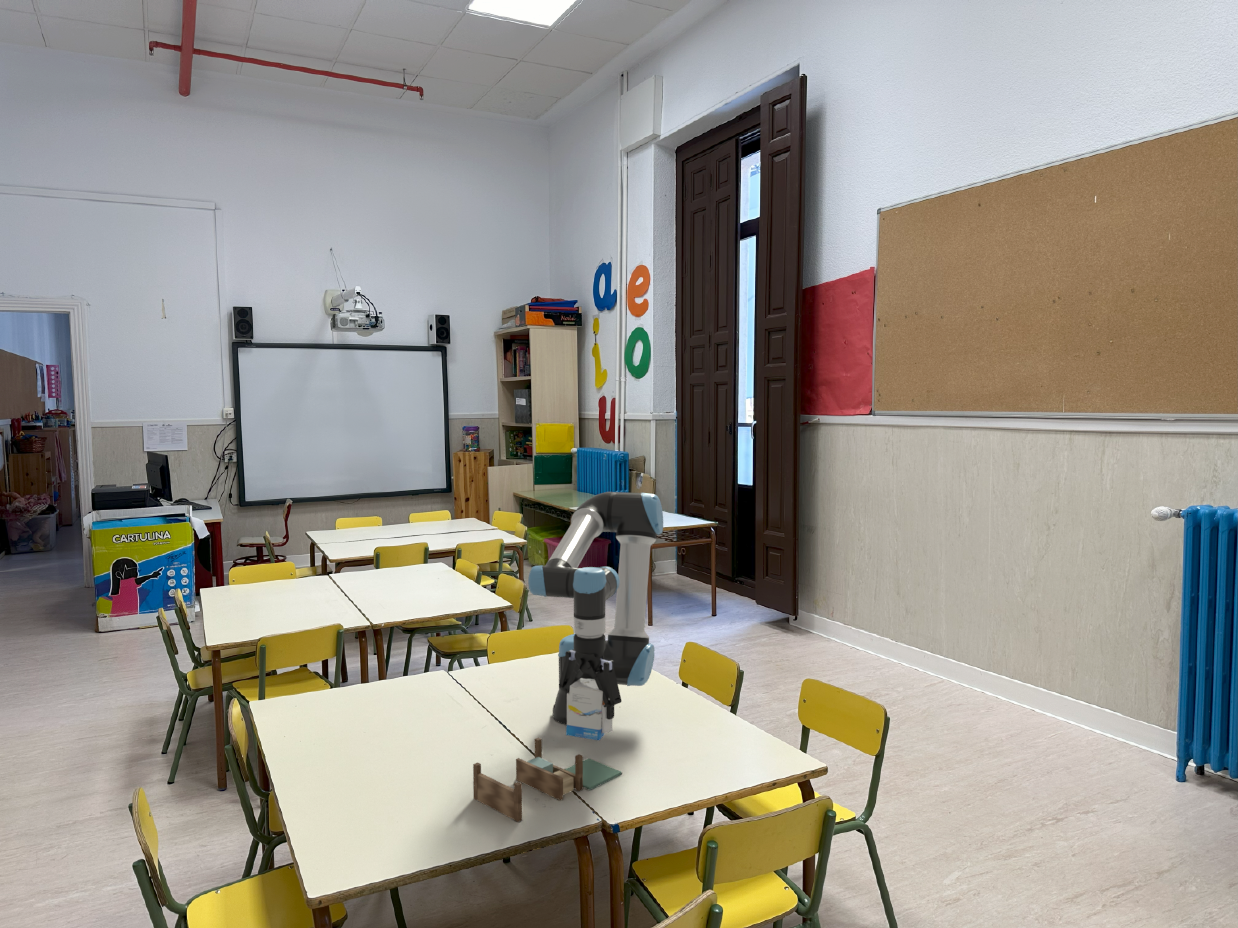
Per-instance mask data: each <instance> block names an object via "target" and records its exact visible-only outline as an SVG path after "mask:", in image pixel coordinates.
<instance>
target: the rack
mask: <svg viewBox="0 0 1238 928" xmlns="http://www.w3.org/2000/svg"><path fill="white" fill-rule="evenodd" d="M542 742H543V740H542V738H540V737H536V738H534V758H536V757H540V758H542V759H543V756H542V755H543V750H542V749H543V743H542ZM574 757H575V758H574V760H575V761H574V762H575V763H574V765H575V774H574V773H571V772H569V771H567V770H565V769H566V768H562V767H559V766H558V765H555V764H553V773H554V772H557V771H559V770H560V771H562V772H564V773H565V774H567V775H569V776H571V777H573V780H574V790H575V791H578V792H581V791H583V789H584V788H583V761H584V756H583V755H582V754H579V753H578V754H576V755H575V756H574ZM472 769H473V770H472V771H473V775H472V776H473V781H472V782H473V800H475V801H478V802H479V803H482V804H484V805H486V806H487V807H489V808H490V809H493V810H494V811H496V812H498V813H501V814H502V815H503V816H506V817H508V818H510V819H512V820H514V821H515V822H517V823H519V822H521V821H523V784H524V785H527V786H528V787H531V788H533V789H535V790H537V791H539V792H541V793H543V794H545V795H547V796H549V797H551V798H554V799H556V800H557V801H558V800H559V801H560V802H561V801H562V800H564V795H563V778H562V777H560V776H558V775H556V774H553V773H551V772H549V771H547V770H544V769H542V768H540V767H538V766H535V765H533V764H531V763H529V762H527V761H526V760H523V759H522V758H520V757H518V758H516V759H515V780H516V782H515V783H513V788H512V787H511V786H509V785H506V784H505V783H502V782H500V781H499V780H496V779H494V778H492V777H490V776H488V775H486V774H484V773H482V764H481V763H480V762H476V763H473V765H472Z"/></svg>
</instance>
